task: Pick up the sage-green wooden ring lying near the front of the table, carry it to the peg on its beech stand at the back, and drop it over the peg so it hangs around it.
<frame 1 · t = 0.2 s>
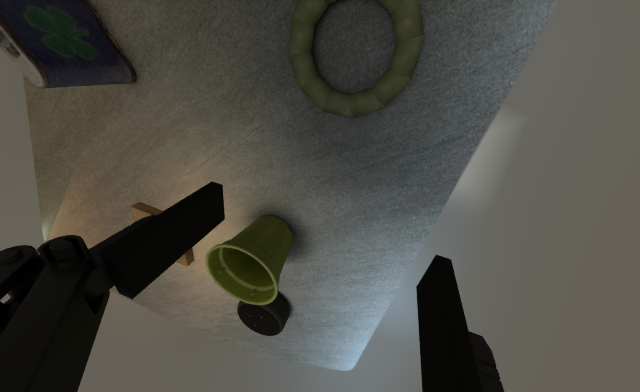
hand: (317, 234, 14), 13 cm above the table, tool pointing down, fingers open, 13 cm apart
plant pot: (275, 231, 34), on the table
flask: (109, 43, 28), on the table
smart speaker: (269, 300, 43), on the table
post: (167, 232, 42), on the table
ring: (351, 48, 20), point 1 cm above the table
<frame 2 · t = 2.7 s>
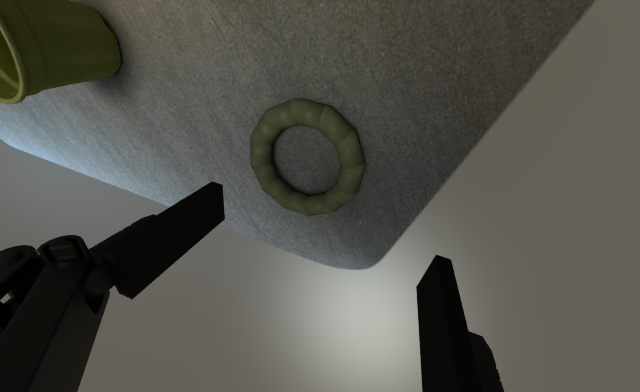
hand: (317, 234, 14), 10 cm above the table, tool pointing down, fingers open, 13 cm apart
plant pot: (99, 43, 24), on the table
ring: (303, 163, 22), point 1 cm above the table
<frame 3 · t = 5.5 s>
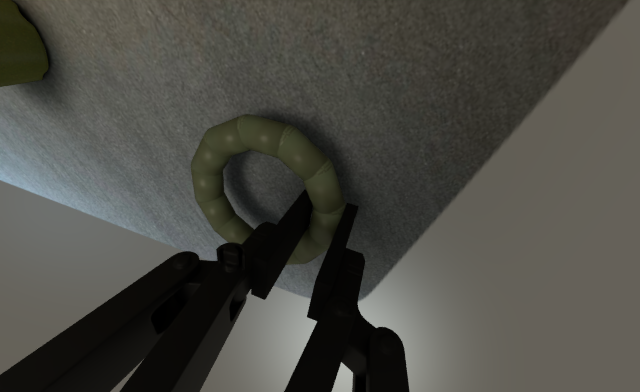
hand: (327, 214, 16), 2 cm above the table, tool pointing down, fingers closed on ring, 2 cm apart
plant pot: (22, 39, 20), on the table
ring: (264, 200, 16), point 3 cm above the table, touching gripper
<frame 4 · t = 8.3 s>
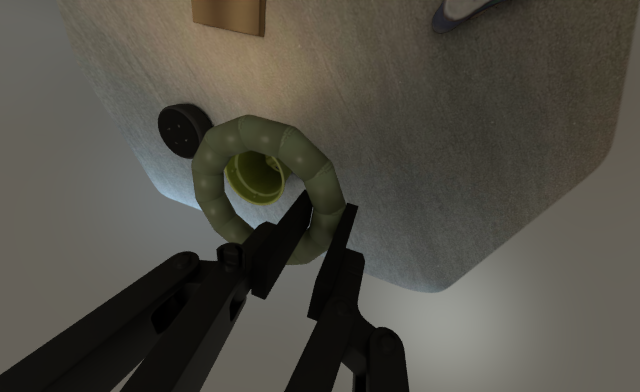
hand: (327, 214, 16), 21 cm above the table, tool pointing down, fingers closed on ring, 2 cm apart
plant pot: (281, 155, 39), on the table
flask: (480, 0, 24), on the table
smart speaker: (196, 128, 42), on the table
ring: (264, 200, 16), point 22 cm above the table, touching gripper
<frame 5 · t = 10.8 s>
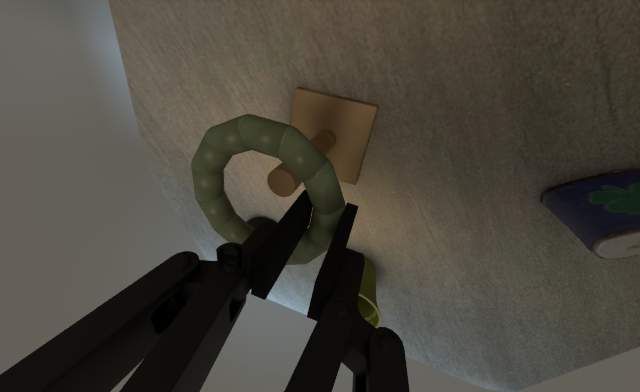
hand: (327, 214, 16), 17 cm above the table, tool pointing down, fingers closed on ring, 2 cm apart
plant pot: (357, 267, 40), on the table
flask: (595, 186, 24), on the table
post: (329, 136, 30), on the table
ring: (264, 200, 16), point 17 cm above the table, touching gripper
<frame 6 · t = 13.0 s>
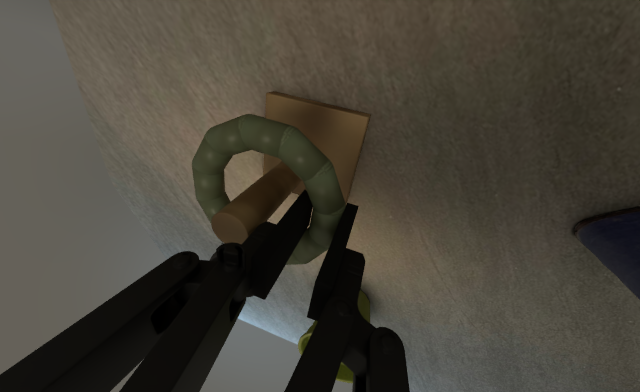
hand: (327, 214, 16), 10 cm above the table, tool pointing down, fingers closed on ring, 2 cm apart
plant pot: (349, 297, 35), on the table
post: (312, 150, 25), on the table
ring: (265, 199, 16), point 11 cm above the table, touching gripper
when the fingers open (13 cm above the table, at t = 16.1 s): ring drops 11 cm, resting on post.
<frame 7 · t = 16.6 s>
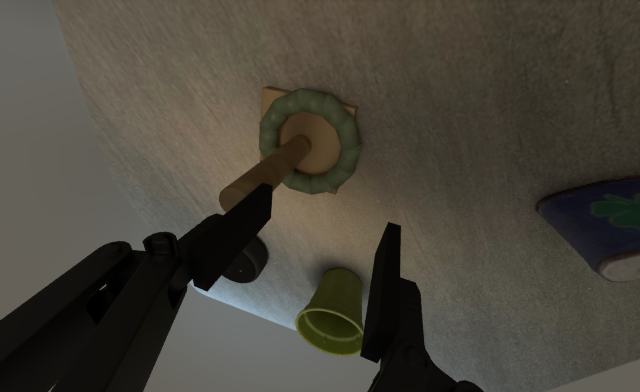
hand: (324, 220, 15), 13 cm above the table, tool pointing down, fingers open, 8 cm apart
plant pot: (342, 280, 37), on the table
flask: (595, 194, 22), on the table
smart speaker: (245, 247, 40), on the table
post: (305, 141, 27), on the table
ring: (307, 146, 25), point 2 cm above the table, touching post
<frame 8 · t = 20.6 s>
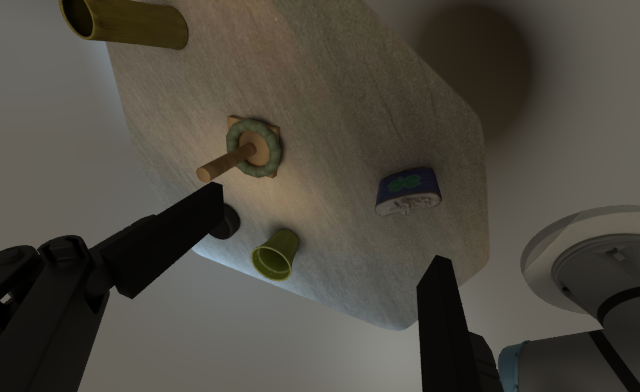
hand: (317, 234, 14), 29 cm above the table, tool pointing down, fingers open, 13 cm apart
vase: (174, 29, 40), on the table
plant pot: (287, 238, 56), on the table
flask: (405, 177, 40), on the table
smart speaker: (226, 216, 59), on the table
post: (255, 146, 46), on the table
ring: (253, 149, 44), point 2 cm above the table, touching post
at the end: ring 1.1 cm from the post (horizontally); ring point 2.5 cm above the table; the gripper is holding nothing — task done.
